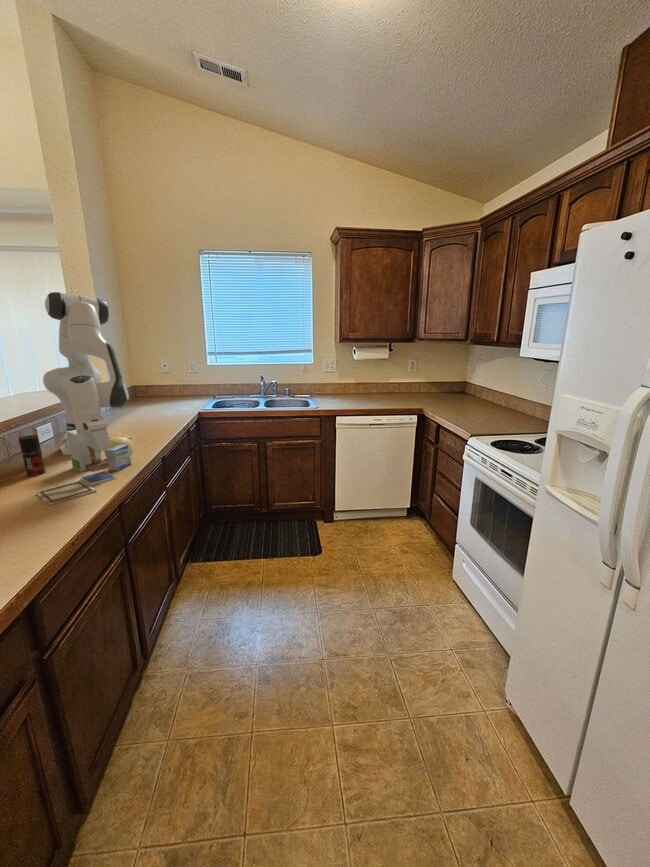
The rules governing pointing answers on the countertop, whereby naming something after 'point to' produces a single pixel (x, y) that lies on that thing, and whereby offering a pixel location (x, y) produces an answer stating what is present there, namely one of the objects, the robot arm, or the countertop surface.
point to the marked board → (65, 492)
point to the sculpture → (120, 442)
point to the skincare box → (78, 452)
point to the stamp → (95, 462)
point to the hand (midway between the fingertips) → (95, 457)
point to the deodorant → (32, 455)
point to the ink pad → (97, 478)
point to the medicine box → (118, 457)
